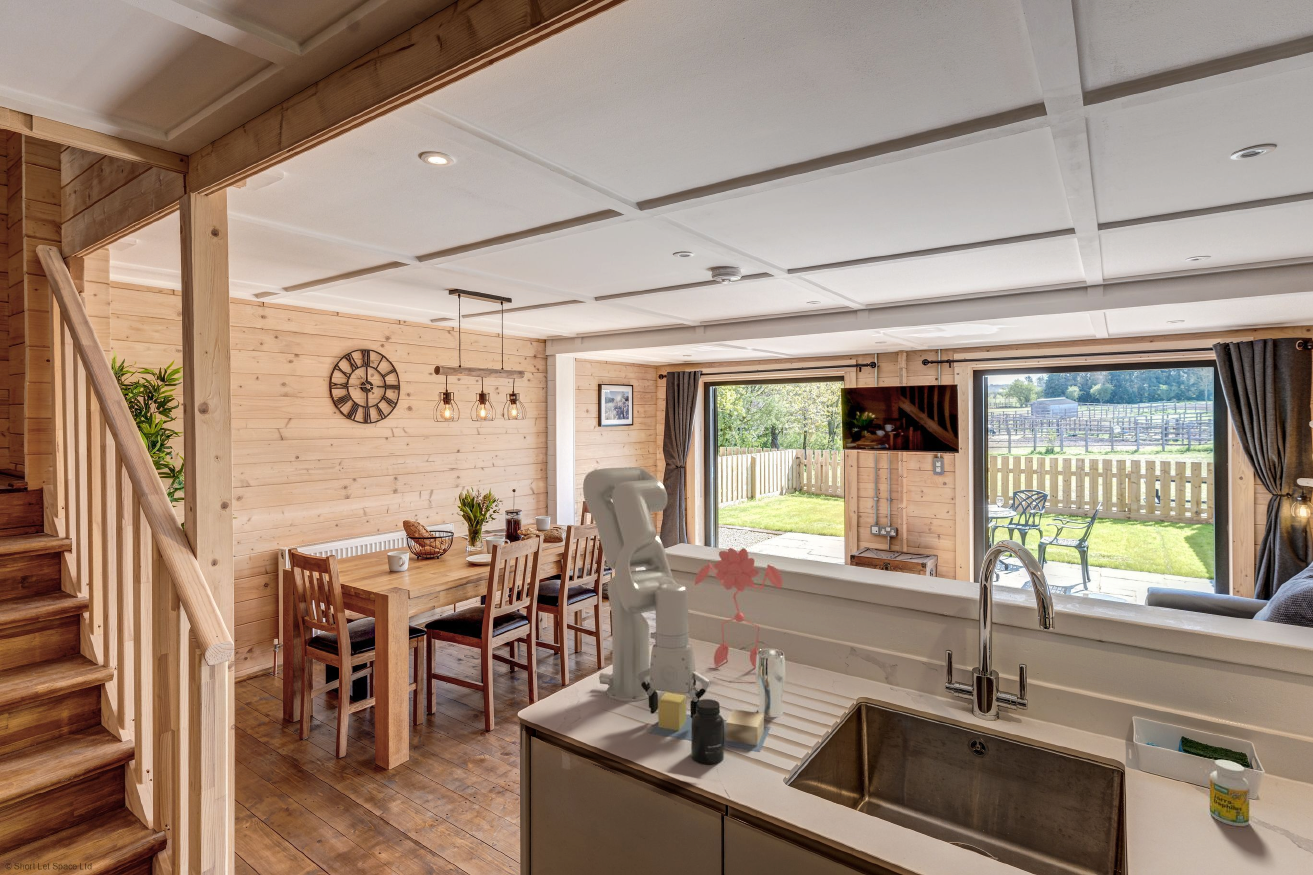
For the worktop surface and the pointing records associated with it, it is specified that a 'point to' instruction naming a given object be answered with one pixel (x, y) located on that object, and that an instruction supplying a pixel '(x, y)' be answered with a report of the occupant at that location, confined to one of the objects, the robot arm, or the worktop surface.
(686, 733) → the board
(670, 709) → the mustard block
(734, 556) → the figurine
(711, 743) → the supplement bottle
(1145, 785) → the worktop surface
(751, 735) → the beech base block
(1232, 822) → the supplement bottle
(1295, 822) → the worktop surface
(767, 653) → the beer glass
